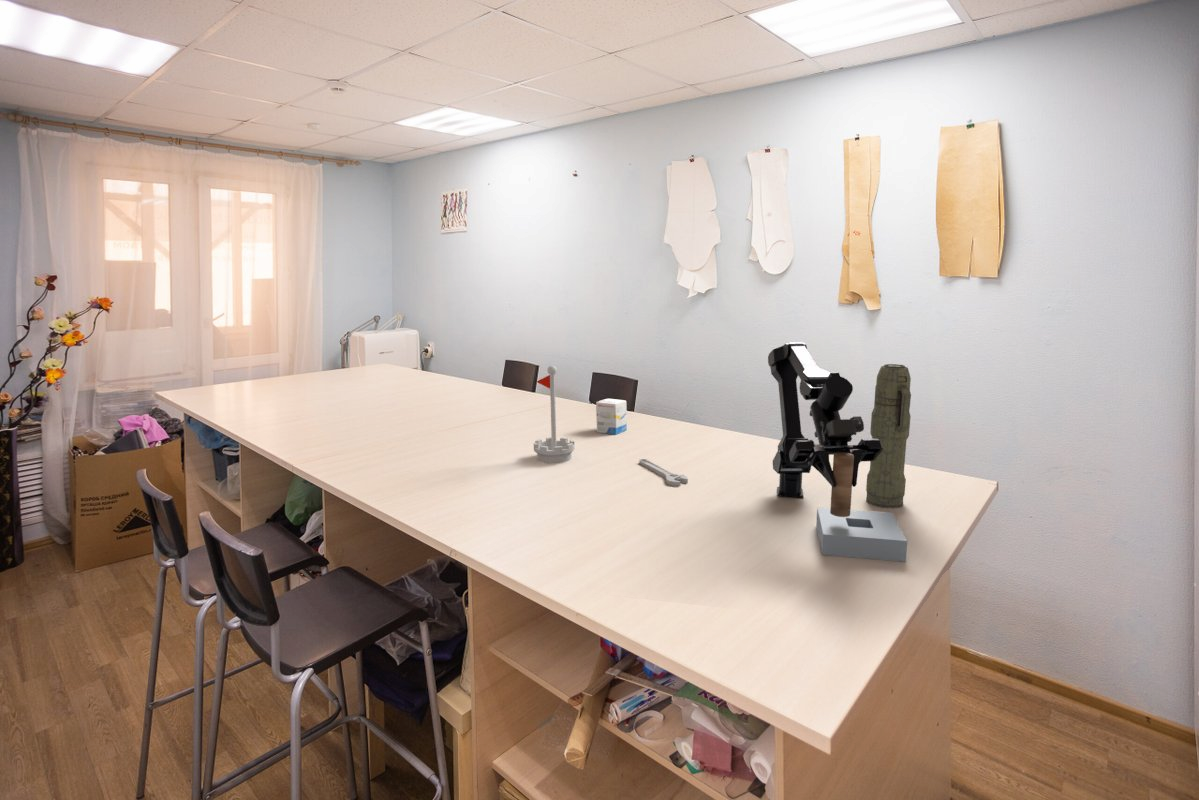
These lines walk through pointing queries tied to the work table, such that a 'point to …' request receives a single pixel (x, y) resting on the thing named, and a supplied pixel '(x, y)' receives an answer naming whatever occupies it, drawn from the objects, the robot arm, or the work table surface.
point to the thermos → (889, 436)
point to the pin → (842, 484)
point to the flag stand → (553, 430)
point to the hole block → (861, 535)
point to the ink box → (611, 416)
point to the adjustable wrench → (664, 473)
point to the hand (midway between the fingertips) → (844, 486)
